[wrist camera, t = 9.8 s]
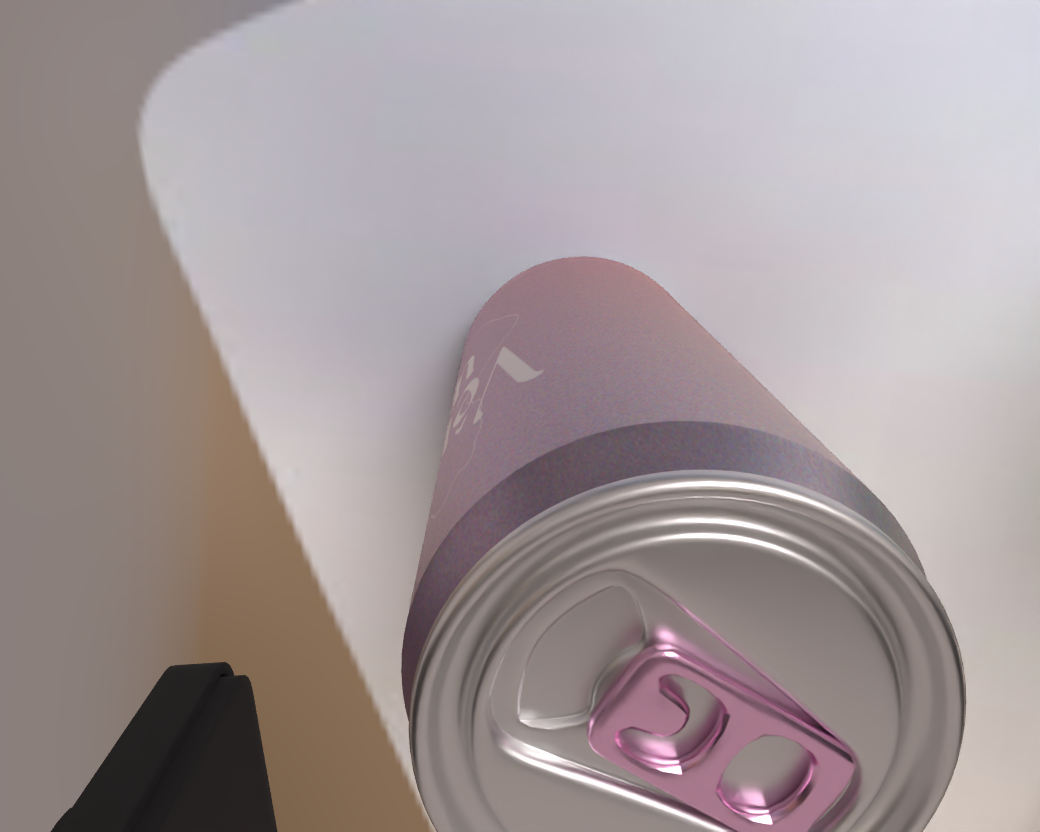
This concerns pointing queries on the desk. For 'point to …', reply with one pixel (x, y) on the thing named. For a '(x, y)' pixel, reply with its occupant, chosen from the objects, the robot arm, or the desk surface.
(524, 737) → the beverage can
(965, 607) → the desk surface
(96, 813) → the robot arm
